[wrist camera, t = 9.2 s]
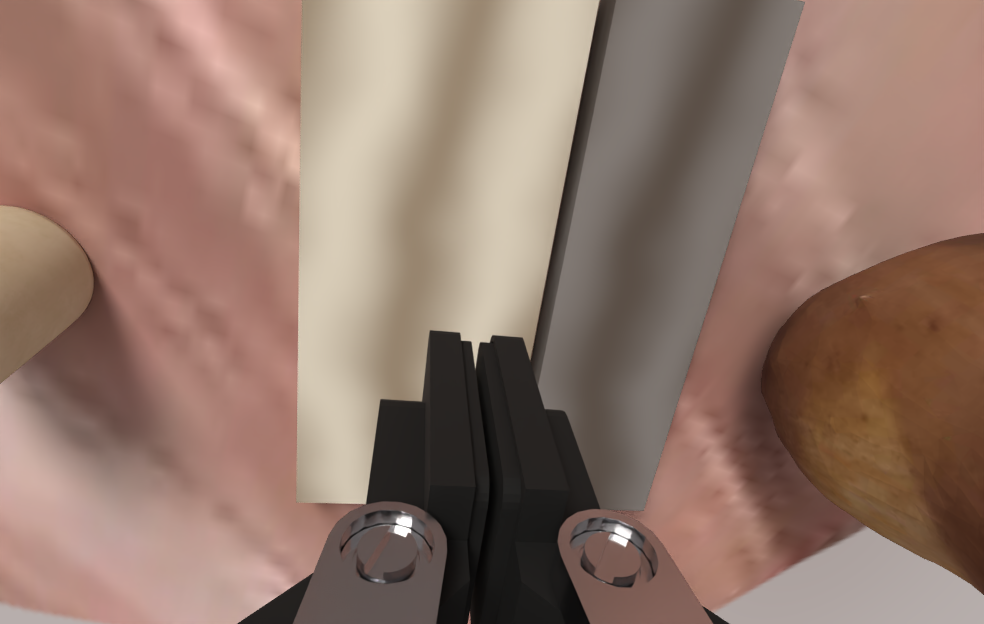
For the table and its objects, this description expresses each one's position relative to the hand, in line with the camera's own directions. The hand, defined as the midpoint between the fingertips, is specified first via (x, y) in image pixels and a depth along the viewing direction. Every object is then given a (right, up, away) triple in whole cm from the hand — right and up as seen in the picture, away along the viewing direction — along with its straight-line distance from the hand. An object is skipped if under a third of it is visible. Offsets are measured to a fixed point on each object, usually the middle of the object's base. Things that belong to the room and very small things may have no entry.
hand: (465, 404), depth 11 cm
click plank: (-2, +4, +15) cm, 16 cm away
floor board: (+6, +3, +17) cm, 18 cm away
